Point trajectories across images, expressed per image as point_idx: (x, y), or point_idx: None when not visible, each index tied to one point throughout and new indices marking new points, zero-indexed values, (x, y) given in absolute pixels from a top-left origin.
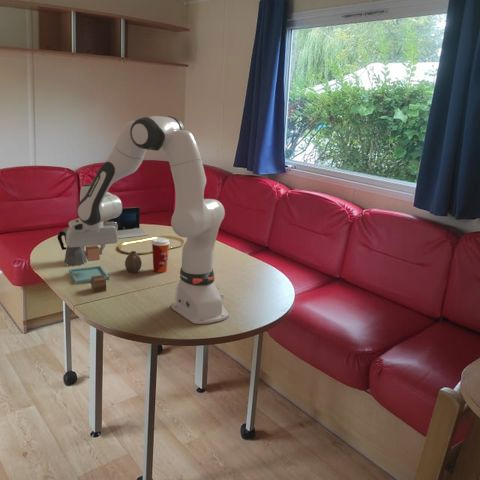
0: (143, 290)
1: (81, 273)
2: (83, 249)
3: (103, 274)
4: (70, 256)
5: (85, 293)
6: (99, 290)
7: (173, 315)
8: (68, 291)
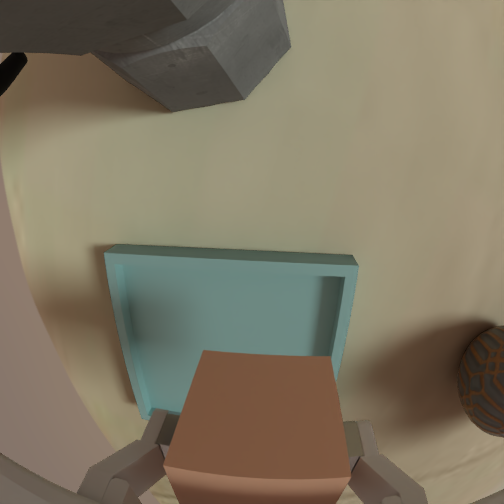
0: None
1: (185, 315)
2: (137, 495)
3: None
4: (113, 67)
5: None
6: None
7: None
8: (123, 436)
